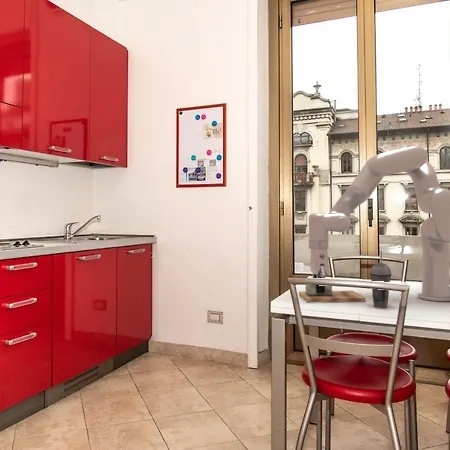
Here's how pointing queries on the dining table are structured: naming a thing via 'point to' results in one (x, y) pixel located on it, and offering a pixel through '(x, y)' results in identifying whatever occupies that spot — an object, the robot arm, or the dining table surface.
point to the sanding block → (312, 290)
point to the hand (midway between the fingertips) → (318, 291)
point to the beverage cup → (380, 274)
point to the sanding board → (334, 297)
